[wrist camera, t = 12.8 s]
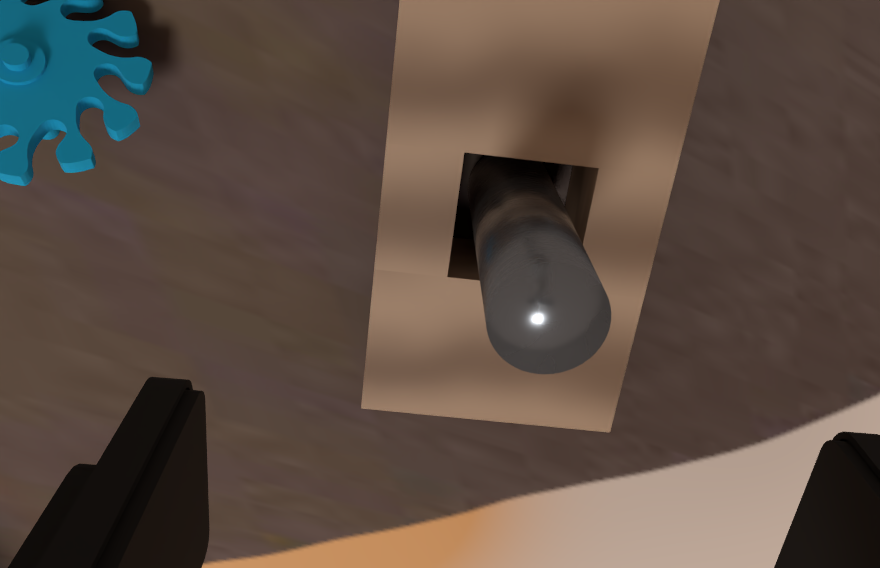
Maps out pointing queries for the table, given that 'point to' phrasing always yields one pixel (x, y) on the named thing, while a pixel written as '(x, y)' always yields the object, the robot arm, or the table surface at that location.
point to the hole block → (531, 138)
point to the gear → (62, 80)
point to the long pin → (533, 269)
